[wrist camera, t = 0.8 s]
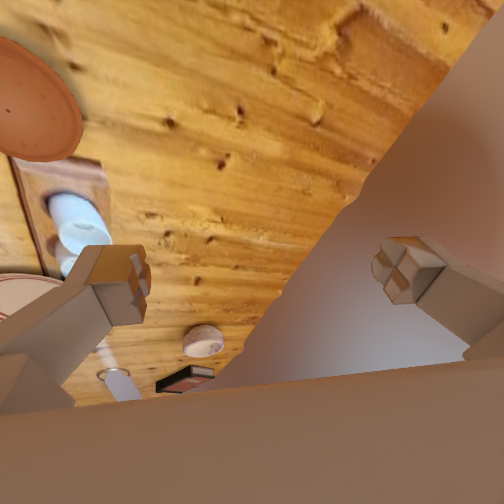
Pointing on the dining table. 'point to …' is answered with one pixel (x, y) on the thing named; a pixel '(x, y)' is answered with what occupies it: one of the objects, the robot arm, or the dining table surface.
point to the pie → (35, 108)
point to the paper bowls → (203, 341)
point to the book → (185, 379)
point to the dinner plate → (22, 291)
